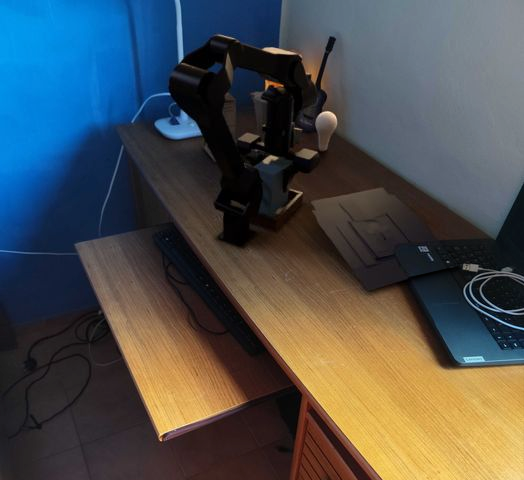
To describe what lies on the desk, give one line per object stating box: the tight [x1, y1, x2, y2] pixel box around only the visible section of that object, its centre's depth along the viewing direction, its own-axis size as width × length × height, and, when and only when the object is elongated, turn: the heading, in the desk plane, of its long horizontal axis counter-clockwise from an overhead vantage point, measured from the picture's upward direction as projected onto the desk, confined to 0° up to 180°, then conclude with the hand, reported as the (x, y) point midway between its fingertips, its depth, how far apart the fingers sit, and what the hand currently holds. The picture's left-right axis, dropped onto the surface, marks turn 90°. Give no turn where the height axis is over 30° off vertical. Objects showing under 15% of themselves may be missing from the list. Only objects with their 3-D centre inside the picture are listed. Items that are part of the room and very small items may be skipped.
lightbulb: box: [314, 111, 338, 152], centre depth 134 cm, size 6×6×11 cm
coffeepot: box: [249, 84, 301, 157], centre depth 129 cm, size 15×9×18 cm, turn 60°
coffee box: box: [203, 91, 237, 163], centre depth 127 cm, size 9×6×16 cm
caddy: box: [250, 188, 304, 232], centre depth 113 cm, size 15×9×3 cm, turn 152°
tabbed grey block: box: [254, 155, 290, 216], centre depth 107 cm, size 6×11×10 cm, turn 148°
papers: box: [309, 187, 440, 292], centre depth 106 cm, size 24×30×4 cm
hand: (273, 188), depth 109 cm, fingers closed on tabbed grey block, 6 cm apart
